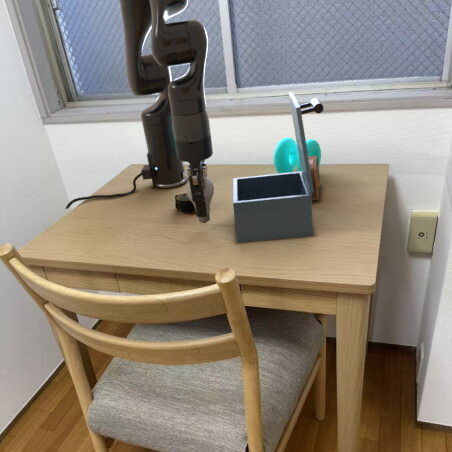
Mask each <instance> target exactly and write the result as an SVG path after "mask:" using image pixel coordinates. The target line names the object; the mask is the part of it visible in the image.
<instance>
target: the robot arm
mask: <svg viewBox="0 0 452 452" xmlns="http://www.w3.org/2000/svg"><path fill="white" fill-rule="evenodd" d="M188 4H189V0H119V6H120V12H121V19H122V20H121V21H122V26H123V35H124V52H125V53H124V57H125V58H124V59H125V73H126V81H127V85H128V88H129V91H130V92H131V93H132V95H133V96H134V97H146V96H152V95H157V94H158V97H157V99H156V100H155V101H154V102H153V103H152V104H151V105H149V106H148V107H146V108H145V109H143V110H142V111H141V113H140V119H141V124H142V128H143V134H144V138H145V144H146V149H147V153H146V158H147V164H143V166H142V168H141V170H140V173H139V174H136V176H135V177H134V178H133V180H132V186H133V189H132V190H131V191H129V192H124V193H114V194H95V195H90V196H82V197H81V196H80V197H77V198H74V199H72V200H71V201H69V202H68V203H67V205H66V206H65V210H68V209H69V208H70V207H71V206H72V205H73V204H74V203H76V202H79V201H85V200H86V201H87V200H92V199H102V198H103V199H107V198H108V199H111V198H118V197H126V196H129V195H131V194H134V193H135V192H136V191H137V184H136V182H137V180H138V179H139V178H140V177H142V180H151V183H152V188H154V189H155V188H156V189H157V188H158V189H171V188H172V189H173V188H176V187H177V188H178V187H179V186H182V185H184V184H185V183H186V182H189V183H190V189H191V194H192V201H193V202H195V206H196V211H195V212H197V213H196V217H197V218H198V217H206V216H207V209H206V201H205V199H206V197H205V189H206V188H207V185H206V177H208V164H207V162H206V160H208V159H210V158H211V157H212V156H213V154H214V149H213V142H212V134H211V124H210V118H209V113H208V111H207V102H206V95H205V71H206V61H207V55H208V49H209V48H208V47H209V38H208V33H207V30H206V28H205V26H204V25H203V23H202V22H200V21H199V20H197V19H188V20H181V21H175V22H174V21H173V22H166V21H167V20H168V19H170V18H173V17H174V16H176V15H178V14H180V13H182V12H183V11H184V10H185V9H186V8H187V6H188ZM149 34H150V52H151V53H149V54H143V55H142V53H143V49H144V44H145V42H146V39H147V37H148V35H149ZM183 65H184V66H185V65H189V67H188V70H187V71H186V73H185V74H184V75H182V76H180V77H178V78H175V79H173V80H172V72H171V68H172V67H178V66H183ZM185 162H186V163H188V164H187V168H185ZM187 177H188V178H187ZM187 179H188V180H187ZM202 183H203V185H202ZM196 192H201V195H199V196H196Z"/></svg>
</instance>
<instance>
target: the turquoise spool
mask: <svg viewBox="0 0 452 452" xmlns="http://www.w3.org/2000/svg"><path fill="white" fill-rule="evenodd" d="M306 146H307V152H308V157H310V156H316V155H317V156H318V165H319V166H320V165H321V161H322V151H321V150H322V149H321V146H320V143H319V142H318V141H317V140H316V139H313V138H309V139H306ZM273 166H274V168H275V171H276V173H277V174H280V173H290V172H294V170H295V169H296V170H297V172H300V171H302V170H301V165H300V159H299V153H298V147H297V142H296V141H295V140H294V139H293V138H292V137H289V136H287V137H284V138H282V139H280V140H279V142H278V143H277V145H276V147H275V150H274V153H273Z"/></svg>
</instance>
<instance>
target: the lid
mask: <svg viewBox="0 0 452 452" xmlns="http://www.w3.org/2000/svg"><path fill="white" fill-rule="evenodd" d="M287 93H288V99H289V100H288V101H289V105H290V111H291V117H292V124H293V128H294V136H295V140H296V141H295V142H296V144H297V147H298V153H299V159H300V165H301V170H302V173H303V176H304V178H305V181H306V184H307V187H308V189H309V192H310V193H314V190H313V184H312V177H311V171H310V165H309V158H308V152H307V146H306V140H307V139H306V135H305V133H306V132H305V128H304V127H305V126H304V121H303V115H305V114H310V113H315V114H321V113H322V112H323V111H324V108H325V107H324V105H323V103H322V102H321V101H320V100H319V98H317V97H313V98H311V100H310V102H309V101H308V102H305V103H301V104H300V103H299V102H298V99H297V98H296V96H295V94H294V93H293V91H289V92H287Z"/></svg>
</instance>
